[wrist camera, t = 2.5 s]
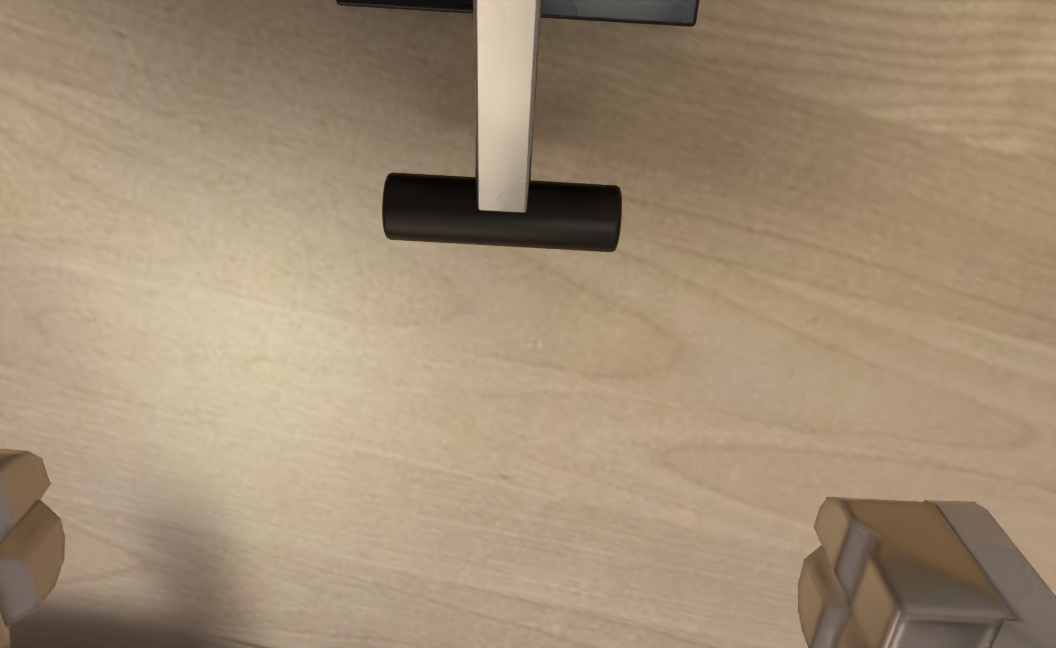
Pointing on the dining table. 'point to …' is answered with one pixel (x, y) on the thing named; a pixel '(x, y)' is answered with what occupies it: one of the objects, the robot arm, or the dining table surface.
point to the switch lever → (503, 160)
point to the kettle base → (568, 9)
